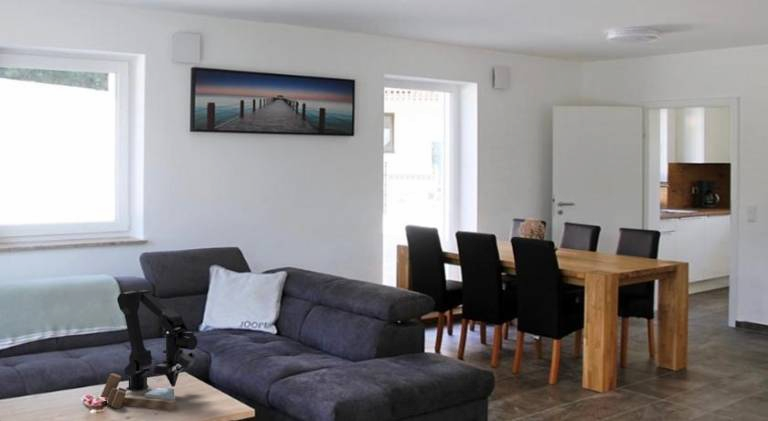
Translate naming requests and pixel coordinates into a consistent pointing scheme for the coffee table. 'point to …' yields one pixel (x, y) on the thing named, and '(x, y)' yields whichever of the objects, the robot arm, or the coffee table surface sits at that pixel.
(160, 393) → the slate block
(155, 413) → the coffee table surface
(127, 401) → the brown wooden bar
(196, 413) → the coffee table surface
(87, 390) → the coffee table surface
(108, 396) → the wooden block set
